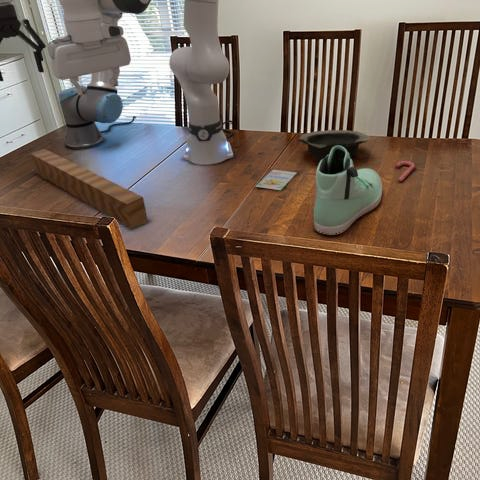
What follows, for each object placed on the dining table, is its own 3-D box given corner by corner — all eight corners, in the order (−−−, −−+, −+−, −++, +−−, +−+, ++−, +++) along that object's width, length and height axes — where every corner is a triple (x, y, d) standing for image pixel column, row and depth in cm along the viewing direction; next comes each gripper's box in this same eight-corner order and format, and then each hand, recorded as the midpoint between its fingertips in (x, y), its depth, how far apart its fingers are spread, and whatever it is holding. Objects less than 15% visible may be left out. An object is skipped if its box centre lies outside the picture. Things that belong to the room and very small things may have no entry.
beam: (36, 173, 179) (30, 153, 175) (50, 169, 182) (44, 148, 178) (131, 229, 137) (126, 203, 133) (148, 221, 141) (143, 196, 136)
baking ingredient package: (255, 185, 155) (273, 168, 166) (255, 187, 155) (273, 170, 166) (280, 189, 151) (297, 171, 163) (280, 190, 151) (297, 173, 163)
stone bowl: (326, 174, 159) (325, 147, 154) (286, 157, 179) (284, 133, 175) (384, 156, 168) (385, 130, 163) (340, 142, 188) (339, 118, 184)
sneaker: (389, 187, 148) (396, 123, 138) (356, 242, 123) (361, 168, 112) (346, 181, 154) (350, 119, 144) (306, 232, 129) (307, 161, 118)
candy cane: (383, 179, 154) (383, 175, 153) (399, 163, 164) (400, 158, 163) (401, 183, 151) (402, 178, 150) (417, 166, 161) (417, 161, 160)
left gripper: (-39, 10, 137) (-13, 86, 148) (44, 0, 151) (62, 69, 162) (-47, 9, 142) (-22, 83, 153) (34, -1, 156) (52, 67, 167)
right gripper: (51, 40, 108) (67, 101, 115) (128, 26, 120) (138, 83, 127) (39, 38, 112) (55, 97, 119) (115, 25, 124) (125, 80, 131)
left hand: (21, 76), depth 157 cm, fingers open, 13 cm apart
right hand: (98, 90), depth 123 cm, fingers open, 8 cm apart
